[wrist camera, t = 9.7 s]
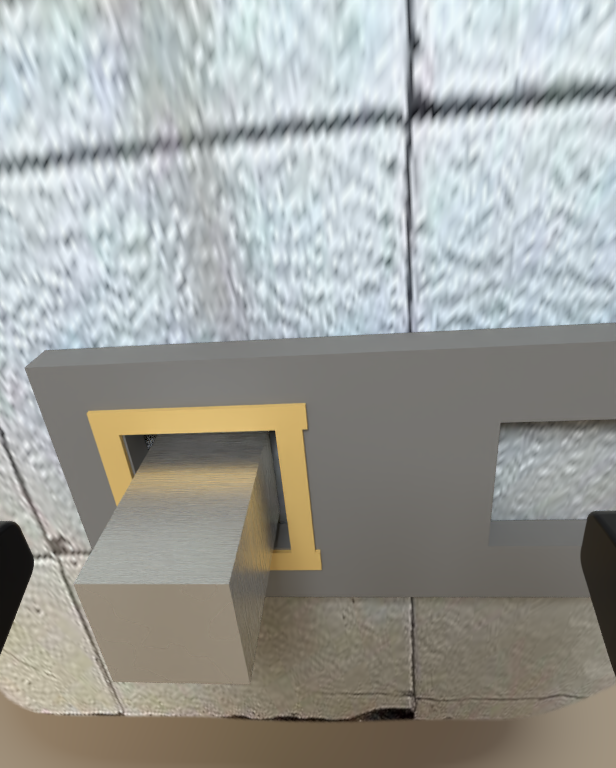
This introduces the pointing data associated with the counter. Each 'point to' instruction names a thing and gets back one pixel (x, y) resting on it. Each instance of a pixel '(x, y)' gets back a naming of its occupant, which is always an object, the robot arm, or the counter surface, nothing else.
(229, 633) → the peg
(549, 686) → the counter surface
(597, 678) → the counter surface
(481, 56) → the counter surface
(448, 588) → the rail
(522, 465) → the counter surface
